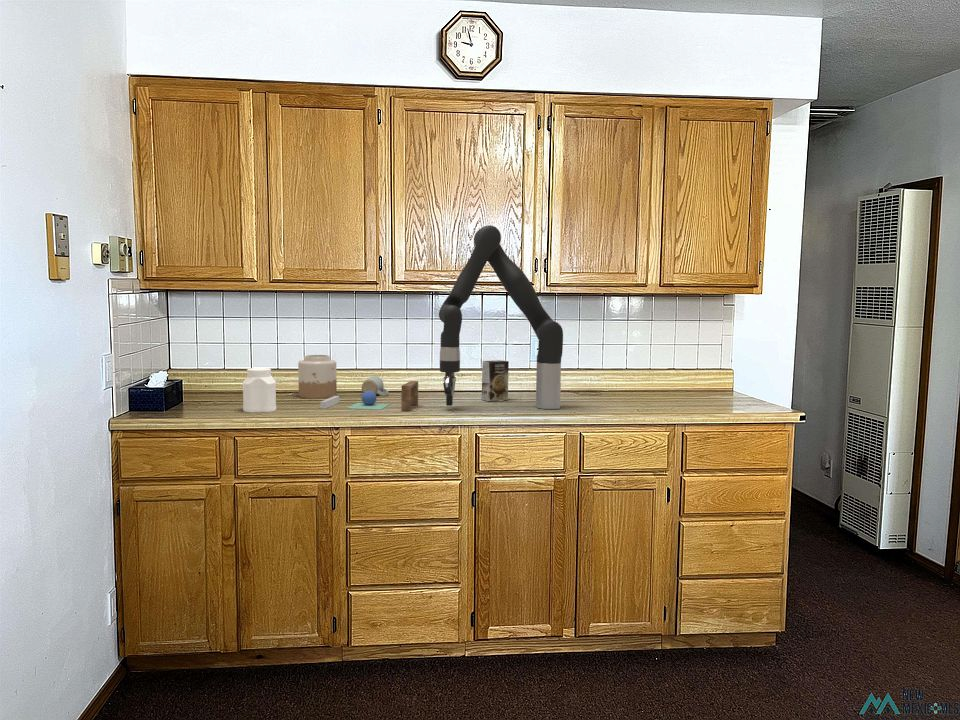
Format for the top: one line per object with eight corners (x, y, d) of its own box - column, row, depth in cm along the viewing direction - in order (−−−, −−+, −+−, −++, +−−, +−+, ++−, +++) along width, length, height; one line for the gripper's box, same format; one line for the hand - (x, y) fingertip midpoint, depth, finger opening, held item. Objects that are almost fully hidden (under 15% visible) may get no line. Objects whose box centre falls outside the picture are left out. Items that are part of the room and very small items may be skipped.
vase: (304, 393, 314) (304, 353, 313) (340, 394, 313) (340, 354, 312) (293, 398, 299) (293, 357, 297) (331, 399, 298) (330, 357, 296)
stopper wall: (339, 402, 290) (339, 395, 290) (325, 408, 275) (325, 401, 274) (334, 402, 291) (334, 395, 290) (320, 408, 275) (320, 401, 275)
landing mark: (389, 404, 286) (389, 404, 286) (380, 409, 273) (380, 409, 273) (357, 403, 288) (357, 402, 288) (346, 408, 275) (346, 408, 275)
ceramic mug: (360, 396, 307) (360, 377, 307) (366, 393, 315) (366, 375, 315) (385, 397, 306) (385, 379, 305) (390, 394, 314) (390, 376, 313)
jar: (241, 412, 264) (241, 370, 262) (244, 408, 273) (243, 367, 272) (275, 412, 266) (274, 370, 265) (277, 407, 275) (276, 367, 274)
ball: (373, 406, 286) (381, 395, 285) (368, 409, 281) (376, 398, 280) (361, 398, 287) (369, 386, 285) (356, 401, 281) (364, 389, 280)
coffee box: (490, 402, 295) (490, 361, 294) (481, 400, 300) (481, 360, 299) (508, 400, 300) (509, 360, 299) (499, 398, 305) (500, 359, 304)
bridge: (418, 405, 285) (418, 381, 285) (409, 411, 271) (409, 386, 270) (410, 404, 286) (410, 380, 285) (401, 411, 271) (401, 385, 271)
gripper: (456, 361, 268) (456, 408, 269) (462, 357, 281) (462, 403, 282) (436, 360, 269) (436, 407, 270) (443, 357, 282) (442, 402, 283)
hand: (449, 405), depth 276 cm, fingers closed
